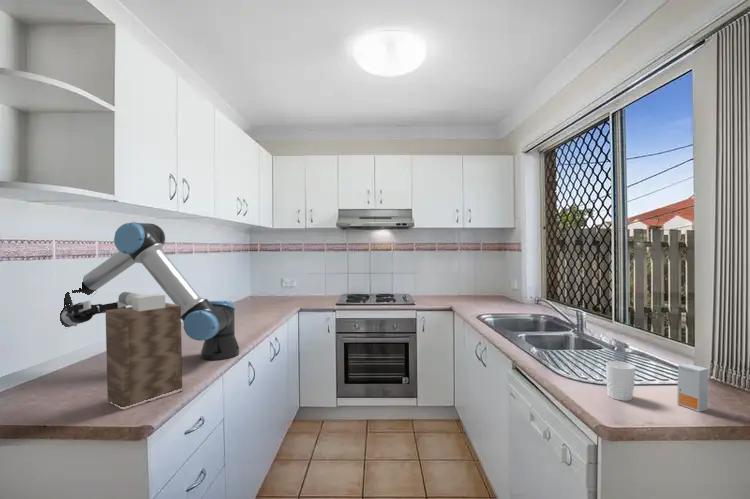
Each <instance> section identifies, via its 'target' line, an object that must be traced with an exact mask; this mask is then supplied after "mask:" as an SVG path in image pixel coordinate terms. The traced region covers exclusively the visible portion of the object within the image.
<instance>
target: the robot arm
mask: <svg viewBox="0 0 750 499" xmlns="http://www.w3.org/2000/svg"><path fill="white" fill-rule="evenodd" d="M113 241H114V242H113V243H114V246H115V247H116V249H117V252H116V253H115V254H114V255H111V256H110V257H109V258H108V259H106V260H105V261H103V262H102V263H100V264H99V265H98V266H96V267H95V268H94V269H92V270H90V271H89V272H88V273H86V274H84V276H83V277H84V278H83V282H82V289H81V288H79V290H74V291H73V290H72V293H76V292H77V293H78V292H79V293H80V292H82V293H85V294H87V295H90V294H92V293H93V292H94V291H96V290H97V291H98V289H100V288H102V287H103V286H104V285H106V284H107V283H108V282H110V281H111V280H113V279H115V278H116V277H117V276H119V275H120V274H121V273H123V272H124V271H126V270H127V269H129V268H131V267H132V266H133V265H135V264H136V263H137V264H142V265H143V267H144V268H145V269H146V270H147V272H148V273H149V275H151V276H152V278H153V279H154V280H155V282H156V283H157V284H158V285H159V286H160V288H161V289H162V290H163V291H164V292H165V294H166V295H167V297H168V298H169V299H170V300H171V301H172V302H173V304H175V305H181V321H182V322H183V330H184V333H185V334H186V335H187V336H188V337H189V338H190V339H192V340H194V341H202V342H203V344H202V349H201V351H200V356H201V358H202V359H204V360H210V361H211V360H214V361H216V360H218V361H219V360H225V359H227V360H228V359H231V358H234V357H236V356H239V354H240V346H239V344H238V343H239V342H238V341H237V338H236V335H235V333H236V332H235V329H236V328H235V322H236V321H235V309H236V308H235V302H233V301H232V300H209V299H208V298H206V297H205V298H204V297H201V296H199V294H198V293H197V291H196V290H195V289H194V288H193V287H192V285H191V284H190V283H189V281H188V280H187V279H186V278H185V277H184V276H183V274H182V273H181V271H180V270H179V269H178V268H177V266H176V265H175V264H174V263H173V262H172V260H170V258H169V257H168V256H167V255H166V253H165V252H164V251H163V248H164V245H165V243H166V242H165V241H166V235H165V232H164V230H163V229H162V228H161V227H160V226H159V225H157V224H154V223H151V222H150V223H144V222H143V223H142V222H136V221H135V222H134V221H133V222H127V223H123V224H122V225H120V226H119V227H118V228H117V229H116V231H115V233H114V238H113ZM97 291H96V292H97ZM69 294H70V293H69V292H67V293H66V294H65V298H64V308H63V310H62V311H61V313H60V321H61V323H62V325H64V326H65V327H68V328H70V327H77V326H78V325H79V324H83V323H87V322H88V321H90V320H91V319H92V318H93V316H95V315H97V314H98V315H99V314H106V313H105V310H113V309H120V308H127V306H129V305H126V304H122V303H120V302H119V300H117V301H116V302H110V303H106V304H101V303H98V304H92V303H91V300H86V301H83V302H78V303H73V301H72V300H71V297H70V295H69ZM69 304H70V305H69ZM65 305H66V306H65Z"/></svg>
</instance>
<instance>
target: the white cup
mask: <svg viewBox="0 0 750 499" xmlns="http://www.w3.org/2000/svg"><path fill="white" fill-rule="evenodd" d="M605 372H606V373H605V379H606V386H607V387H606V393H607V397H609V398H611V399H614V400H616V401H621V402H622V401H623V402H625V401H627V402H629V401H631V400H633V398H634V395H633V394H634V388H635V387H634V386H635V377H636V376H635V375H636V366H635V365H634V364H632V363H630V362H629V363H628V362H625V361H620V360H619V361H617V360H615V361H614V360H613V361H612V360H610V361H606V362H605Z"/></svg>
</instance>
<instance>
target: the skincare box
mask: <svg viewBox="0 0 750 499" xmlns="http://www.w3.org/2000/svg"><path fill="white" fill-rule="evenodd" d="M677 367H678V368H677V369H678V370H677V372H678V373H677V397H676V398H677V399H676V404H677V405H679V406H681V407H684V408H686V409H689V410H692V411H696V412H698V413H699V412H700V413H701V412H703V411H707V410H708V401H709V400H708V398H709V371H710V370H709V368H708V367H703V366H698V365H694V364H691V363H688V362H687V363H681V364H678V366H677Z"/></svg>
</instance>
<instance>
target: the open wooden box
mask: <svg viewBox="0 0 750 499" xmlns="http://www.w3.org/2000/svg"><path fill="white" fill-rule="evenodd" d="M104 314H105V343H106V344H105V345H106V346H105V347H106V348H105V349H106V352H105V353H106V380H107V381H106V383H107V384H106V385H107V402H108V401H109V402H112V403H113V404H116V405H118V406H120V407H126V406H130V405H133V404H136V403H139V402H142V401H144V400H148V399H151V398H154V397H157V396H160V395H162V394H166V393H169V392H172V391H174V390H178V389H181V388H182V389H183V360H182V359H183V356H182V354H183V353H182V351H183V349H182V347H183V346H182V345H183V344H182V319H181V305H175V304H174V303H169V302H165V308H160V309H152V310H145V311H134V310H132V306H129V307H126V308H120V309H113V310H105V313H104Z"/></svg>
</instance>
